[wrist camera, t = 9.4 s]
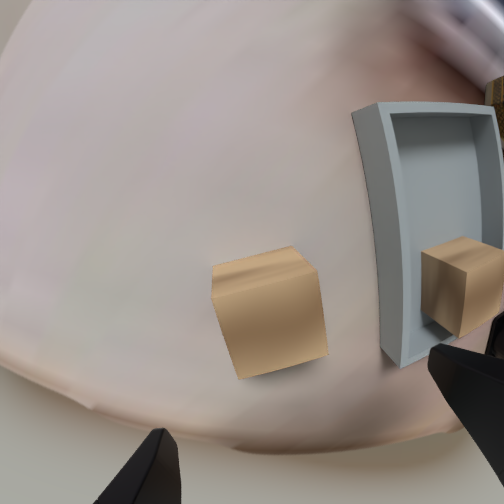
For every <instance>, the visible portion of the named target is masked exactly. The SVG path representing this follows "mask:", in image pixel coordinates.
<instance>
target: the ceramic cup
mask: <svg viewBox="0 0 504 504" xmlns="http://www.w3.org/2000/svg"><path fill="white" fill-rule="evenodd" d="M484 106H491V107H494V110H495V114H496V119H497V123H498V129H499V134H500V140H501V146H502V148H503V149H504V76H502V77H500V78H497V79H495V80H493V81H491V82H489V83H487V85H486V93H485V105H484Z"/></svg>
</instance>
